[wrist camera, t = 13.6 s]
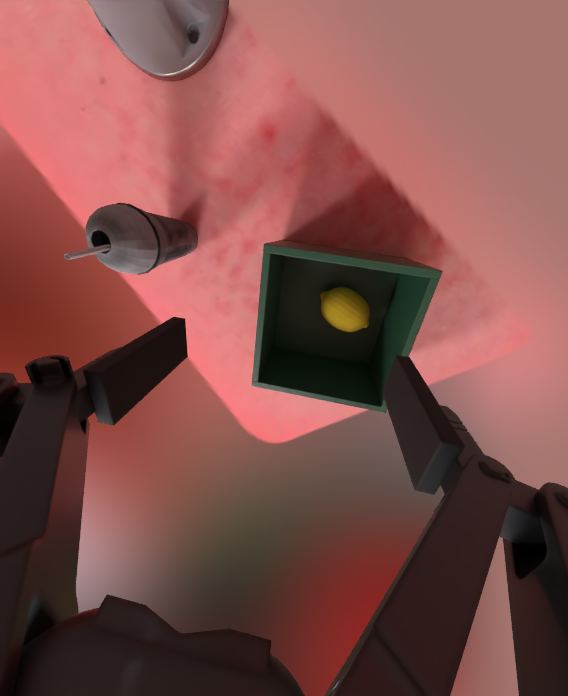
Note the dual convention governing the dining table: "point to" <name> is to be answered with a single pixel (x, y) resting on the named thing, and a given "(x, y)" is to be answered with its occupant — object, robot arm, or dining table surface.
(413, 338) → the green open box
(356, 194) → the dining table surface
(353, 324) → the lemon
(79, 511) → the robot arm
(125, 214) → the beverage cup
